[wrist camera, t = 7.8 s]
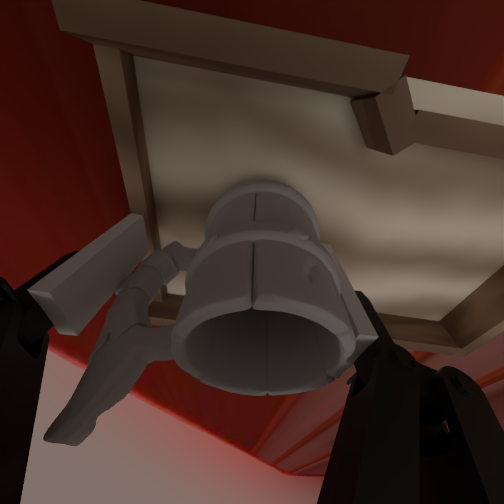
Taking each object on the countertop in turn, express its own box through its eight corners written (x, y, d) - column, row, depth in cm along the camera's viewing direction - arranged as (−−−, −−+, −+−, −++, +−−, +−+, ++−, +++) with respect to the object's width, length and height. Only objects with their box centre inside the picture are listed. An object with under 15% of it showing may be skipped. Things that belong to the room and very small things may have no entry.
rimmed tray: (115, 24, 10) (45, -19, 7) (661, 132, 12) (815, 138, 8) (161, 292, 22) (143, 323, 19) (431, 329, 23) (458, 364, 20)
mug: (313, 260, 16) (391, 477, 7) (182, 275, 18) (86, 467, 8) (313, 163, 12) (536, 372, 2) (141, 194, 14) (-164, 395, 4)
